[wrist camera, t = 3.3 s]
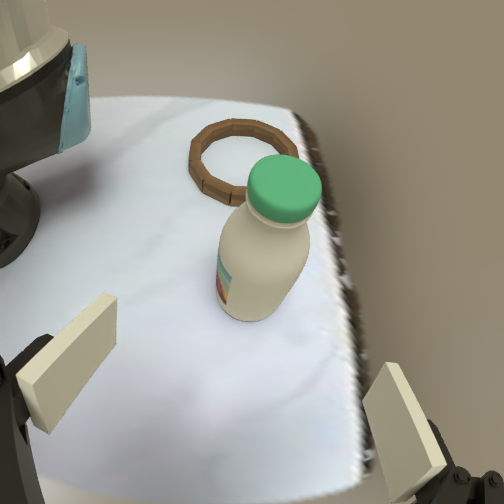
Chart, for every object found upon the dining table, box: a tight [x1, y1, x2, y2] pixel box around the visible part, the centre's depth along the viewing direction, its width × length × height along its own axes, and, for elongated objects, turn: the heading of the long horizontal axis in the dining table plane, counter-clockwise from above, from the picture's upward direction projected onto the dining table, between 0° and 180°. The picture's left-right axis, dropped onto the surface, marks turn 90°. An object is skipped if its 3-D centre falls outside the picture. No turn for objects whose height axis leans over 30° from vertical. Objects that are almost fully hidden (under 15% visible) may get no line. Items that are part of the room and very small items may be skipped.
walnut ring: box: [189, 118, 299, 206], centre depth 43 cm, size 16×16×2 cm
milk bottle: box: [216, 155, 322, 322], centre depth 27 cm, size 8×8×20 cm
